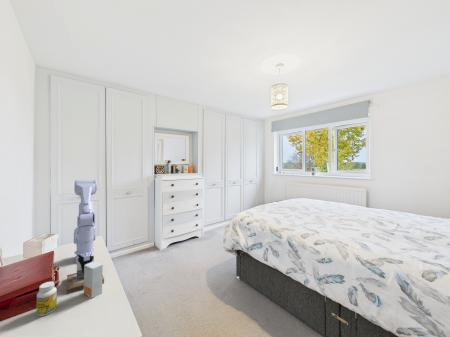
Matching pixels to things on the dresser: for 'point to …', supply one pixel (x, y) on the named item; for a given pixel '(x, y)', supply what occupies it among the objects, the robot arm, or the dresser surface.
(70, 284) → the walnut stand
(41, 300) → the supplement bottle
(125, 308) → the dresser surface
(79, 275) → the housing
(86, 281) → the skincare box
